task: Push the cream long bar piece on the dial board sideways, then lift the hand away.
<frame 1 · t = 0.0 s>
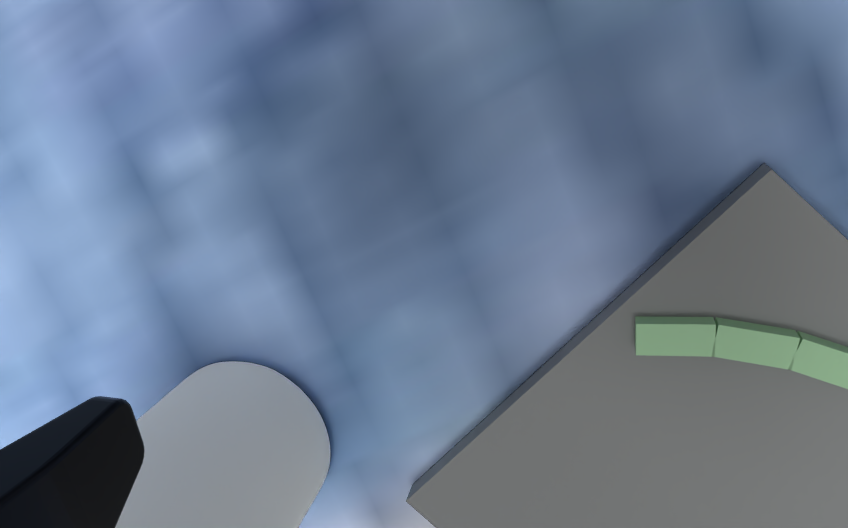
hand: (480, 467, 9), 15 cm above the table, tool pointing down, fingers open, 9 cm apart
can: (255, 431, 29), on the table
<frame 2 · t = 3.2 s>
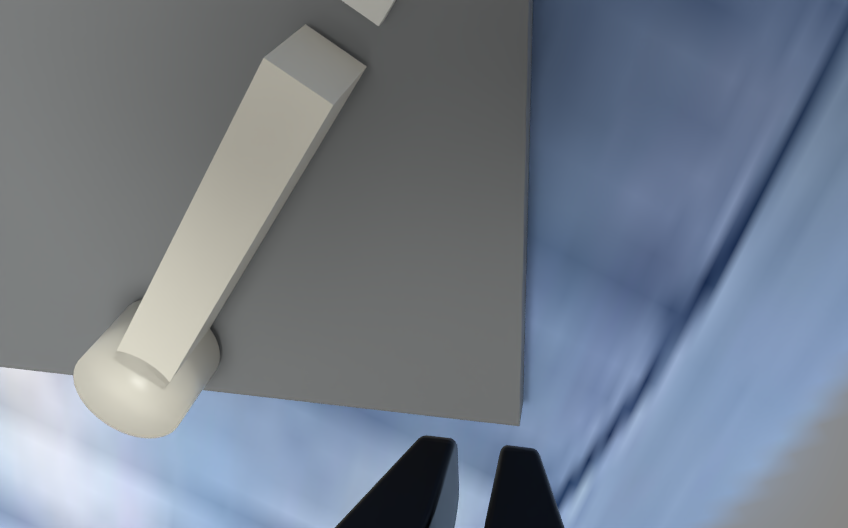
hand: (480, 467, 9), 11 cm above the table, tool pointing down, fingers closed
dial board: (141, 140, 21), on the table
cream long bar piece: (208, 260, 19), point 2 cm above the table, hinge at -35.0°
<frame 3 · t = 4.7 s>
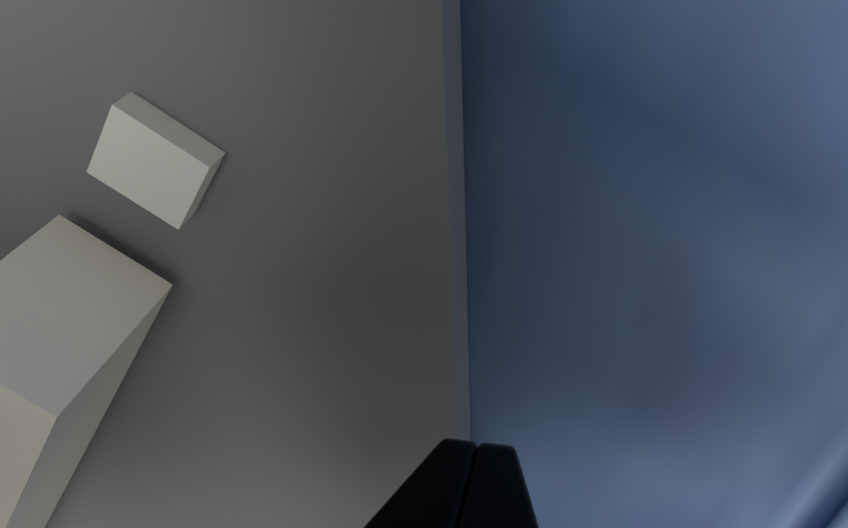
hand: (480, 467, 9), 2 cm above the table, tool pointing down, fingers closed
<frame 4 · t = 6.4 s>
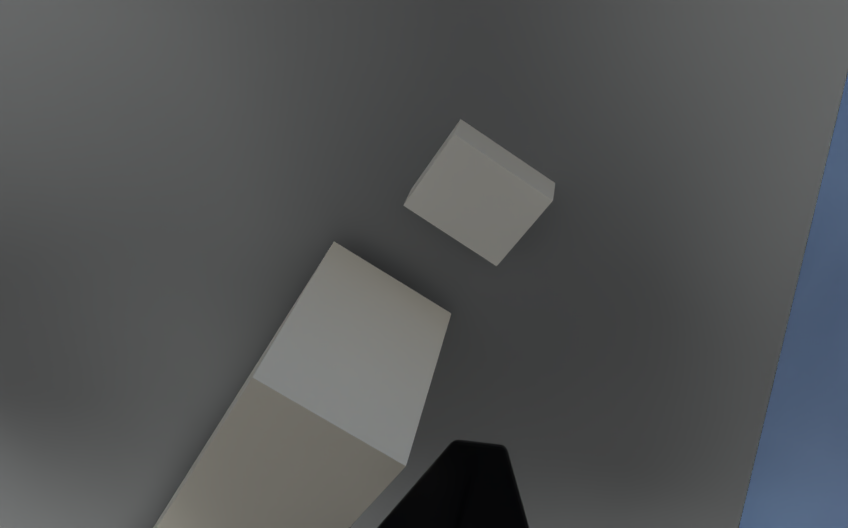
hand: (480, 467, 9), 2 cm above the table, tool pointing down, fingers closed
dial board: (66, 373, 13), on the table
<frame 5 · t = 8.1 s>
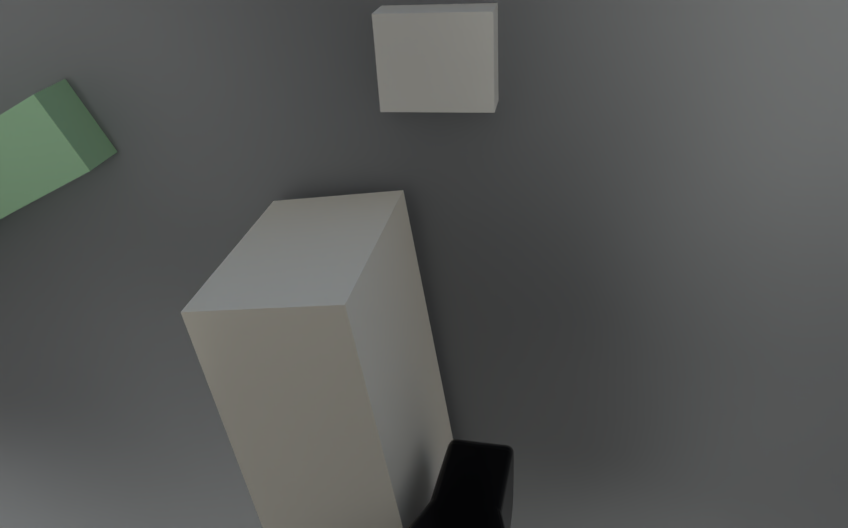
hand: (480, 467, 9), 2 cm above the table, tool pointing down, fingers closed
dial board: (470, 450, 12), on the table
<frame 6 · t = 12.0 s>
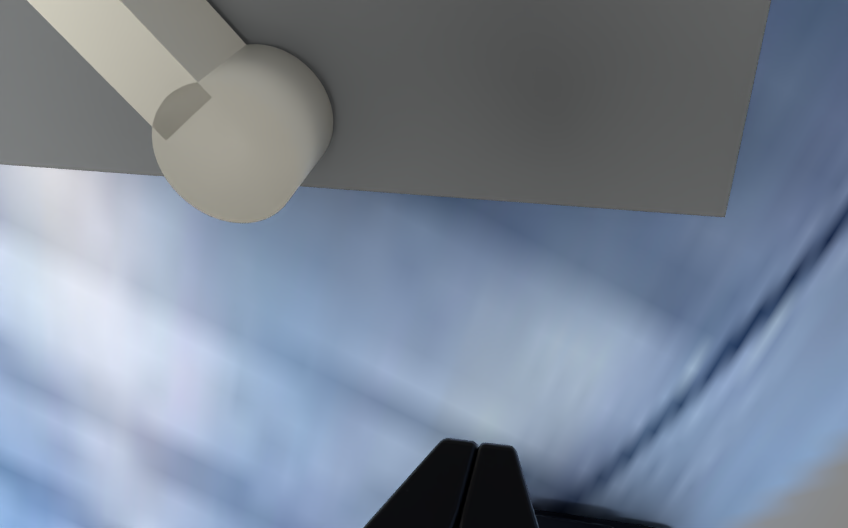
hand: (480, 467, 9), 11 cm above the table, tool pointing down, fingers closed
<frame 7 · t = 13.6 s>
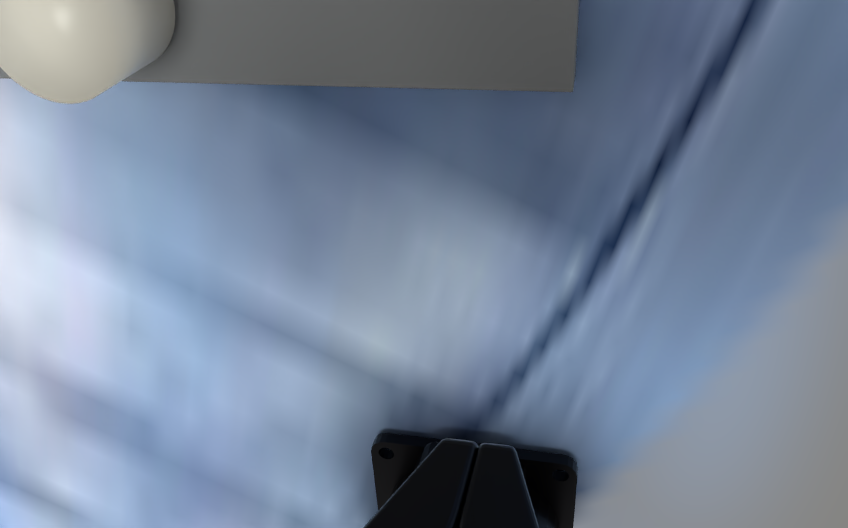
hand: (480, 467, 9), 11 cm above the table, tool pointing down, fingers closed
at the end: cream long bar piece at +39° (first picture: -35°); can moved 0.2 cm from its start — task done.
